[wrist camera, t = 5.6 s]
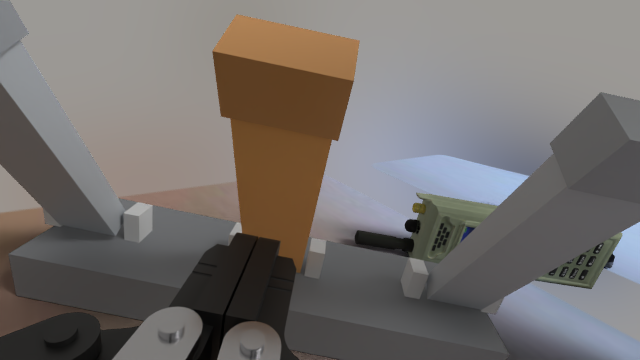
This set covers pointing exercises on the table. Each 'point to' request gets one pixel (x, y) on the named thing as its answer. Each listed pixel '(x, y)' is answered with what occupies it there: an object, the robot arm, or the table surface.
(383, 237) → the handheld radio
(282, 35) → the orange paddle
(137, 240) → the pegged base beam
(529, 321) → the table surface
